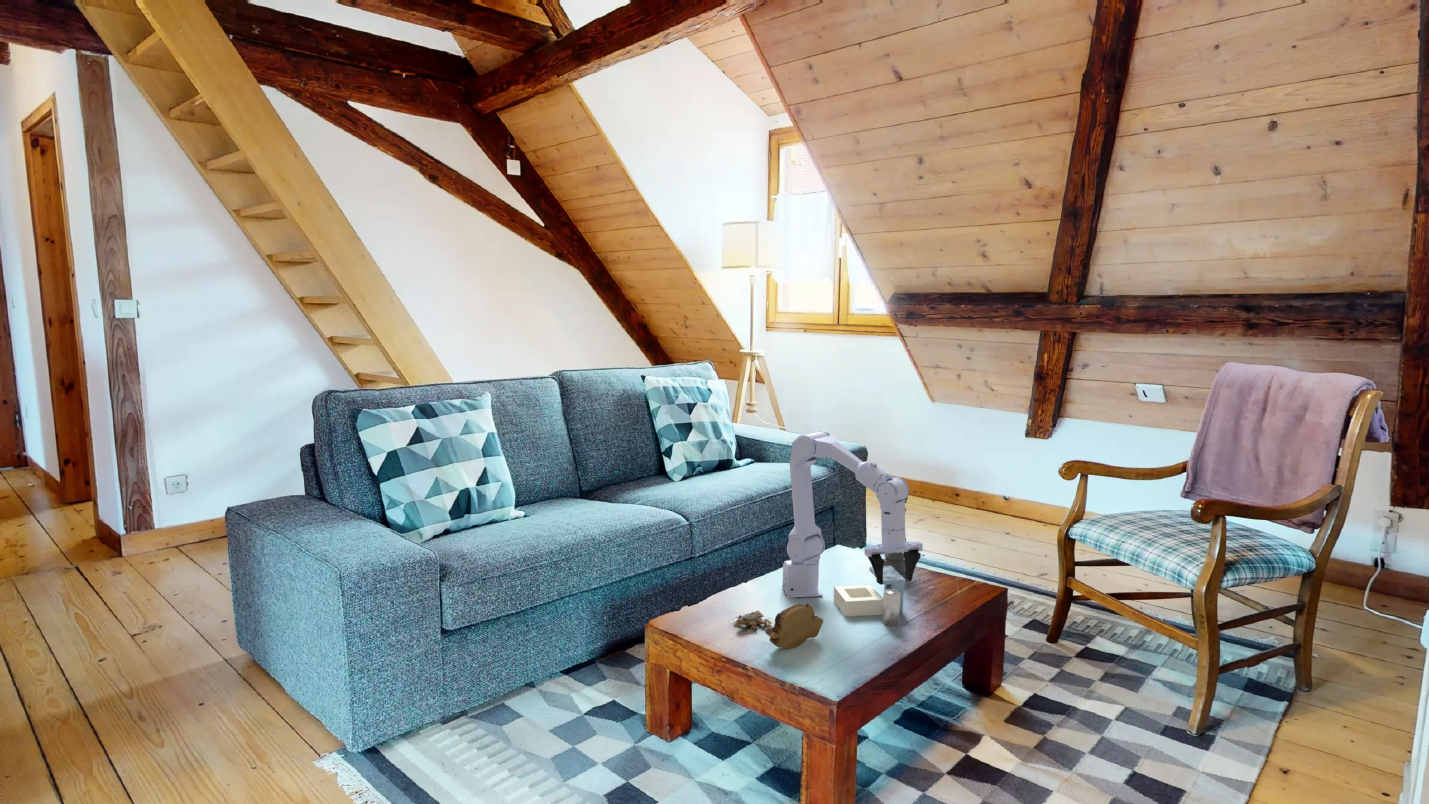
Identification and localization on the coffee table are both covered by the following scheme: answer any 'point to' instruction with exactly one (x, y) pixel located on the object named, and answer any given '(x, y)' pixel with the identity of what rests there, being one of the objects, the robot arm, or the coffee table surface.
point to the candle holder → (896, 558)
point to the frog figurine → (752, 621)
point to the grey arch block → (892, 582)
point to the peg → (891, 607)
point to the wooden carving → (794, 626)
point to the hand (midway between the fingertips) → (894, 581)
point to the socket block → (858, 600)
